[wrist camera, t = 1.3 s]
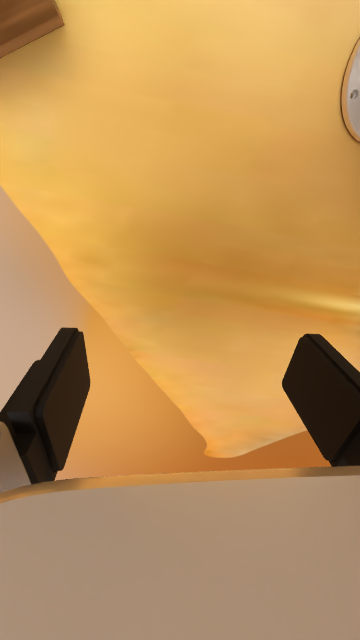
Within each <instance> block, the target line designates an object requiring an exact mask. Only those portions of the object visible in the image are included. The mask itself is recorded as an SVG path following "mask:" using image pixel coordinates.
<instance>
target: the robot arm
mask: <svg viewBox="0 0 360 640" xmlns="http://www.w3.org/2000/svg"><path fill="white" fill-rule="evenodd" d="M341 104H342V112H343V118H344V121H345V124H346V127H347V128H348V130H349V132H350V134H351V135H352V136H353V137H354V138H355V139H356V140H357V141H359V142H360V39H359V40H358V42H357V44H356V46H355V48H354V50H353V53H352V55H351V57H350V59H349V63H348V66H347V69H346V72H345V76H344V82H343V87H342V103H341ZM282 387H283V389H284V391H285V393H286V394H287V396H288V398H289V399H290V401H291V403H292V405H293V406H294V408H295V410H296V411H297V413H298V415H299V416H300V418H301V420H302V421H303V423H304V425H305V426H306V428H307V430H308V432H309V433H310V435H311V437H312V438H313V440H314V442H315V443H316V445H317V446H318V448H319V450H320V452H321V453H322V455H323V457H324V458H325V459H326V460H328V461H329V462H330V464H331V466H332V467H310V468H285V469H284V468H283V469H256V470H232V471H207V472H187V473H186V472H185V473H165V474H164V473H163V474H142V475H122V476H107V477H91V478H75V479H65V480H56V481H54V480H55V477H56V474H57V471H61V470H63V468H64V465H65V463H66V459H67V456H68V453H69V450H70V447H71V444H72V441H73V437H74V435H75V431H76V428H77V426H78V422H79V419H80V416H81V413H82V410H83V407H84V404H85V401H86V398H87V395H88V392H89V388H90V376H89V369H88V362H87V355H86V349H85V342H84V335H83V332H79V331H78V329H77V328H61V329H60V331H59V332H58V334H57V335H56V337H55V338H54V340H53V341H52V343H51V344H50V346H49V347H48V349H47V351H46V352H45V354H44V355H43V357H42V358H41V360H37V361H35V362H34V363H33V364H32V366H31V367H30V369H29V370H28V372H27V373H26V375H25V376H24V378H23V379H22V381H21V382H20V384H19V385H18V387H17V388H16V390H15V391H14V393H13V394H12V396H11V397H10V399H9V400H8V402H7V403H6V405H5V406H4V408H3V409H2V411H1V412H0V640H360V372H359V371H358V370H357V369H356V368H355V367H353V366H352V365H351V364H350V363H349V362H348V361H347V360H346V359H345V358H344V357H343V356H342V355H341V354H340V353H339V352H338V351H337V350H336V349H335V348H334V347H333V346H332V345H331V344H330V343H329V342H328V341H327V340H326V339H325V338H324V337H322V336H321V335H320V334H305V335H304V336H303V337H301V338H300V339H299V341H298V344H297V346H296V349H295V351H294V353H293V356H292V358H291V361H290V363H289V366H288V368H287V371H286V373H285V375H284V378H283V380H282Z"/></svg>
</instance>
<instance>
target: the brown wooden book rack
mask: <svg viewBox="0 0 360 640" xmlns="http://www.w3.org/2000/svg"><path fill="white" fill-rule="evenodd" d="M63 25H64V22H63V20H62V17H61V15H60V12H59V10H58V7H57V5H56V3H55V0H0V58H1V57H3V56H5V55H7V54H9V53H10V52H12V51H14V50H16V49H18V48H20V47H22V46H24V45H26V44H28V43H30V42H32V41H34V40H36V39H38V38H40V37H42V36H43V35H45V34H47V33H49V32H51V31H53V30H55V29H57V28H59V27H61V26H63Z"/></svg>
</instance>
